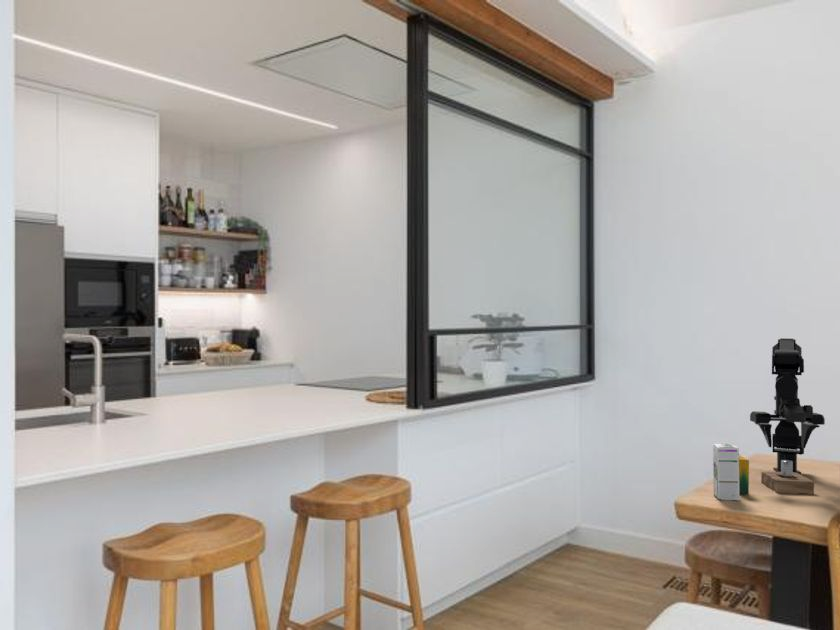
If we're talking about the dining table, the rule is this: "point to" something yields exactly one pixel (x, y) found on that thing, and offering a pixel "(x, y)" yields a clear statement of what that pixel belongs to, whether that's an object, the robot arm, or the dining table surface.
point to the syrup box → (726, 471)
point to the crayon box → (743, 475)
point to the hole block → (787, 483)
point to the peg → (786, 469)
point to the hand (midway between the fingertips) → (786, 447)
